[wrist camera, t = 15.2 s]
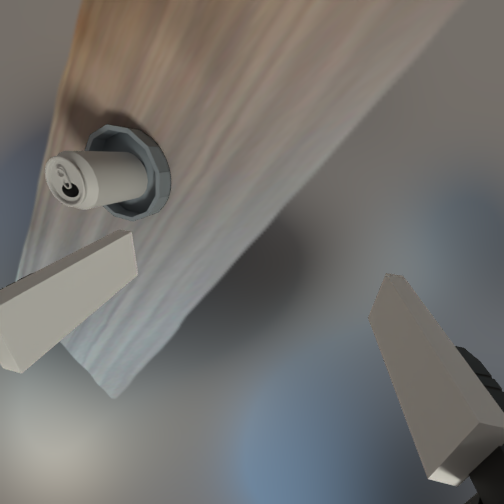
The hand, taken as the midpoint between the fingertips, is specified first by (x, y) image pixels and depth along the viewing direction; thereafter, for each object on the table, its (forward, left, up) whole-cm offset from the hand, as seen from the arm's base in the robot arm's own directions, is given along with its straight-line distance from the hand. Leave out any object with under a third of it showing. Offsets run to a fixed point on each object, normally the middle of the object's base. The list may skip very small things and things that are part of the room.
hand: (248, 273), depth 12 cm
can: (+16, -23, -24) cm, 37 cm away
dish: (+16, -23, -25) cm, 38 cm away
